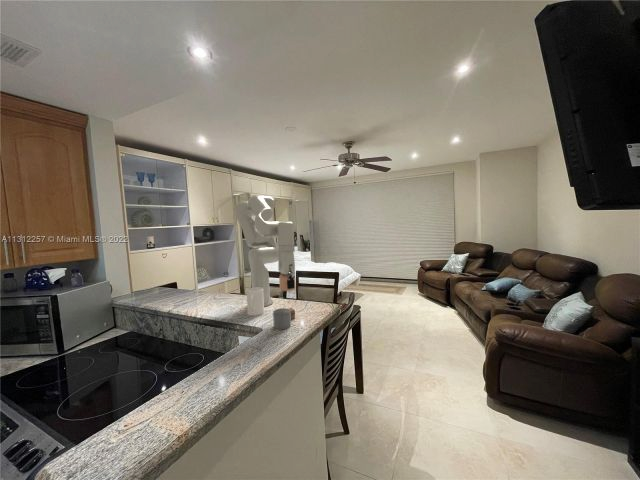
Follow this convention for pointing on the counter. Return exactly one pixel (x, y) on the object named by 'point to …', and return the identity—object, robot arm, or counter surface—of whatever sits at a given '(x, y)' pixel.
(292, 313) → the letter cube
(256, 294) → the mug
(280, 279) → the cup terracotta
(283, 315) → the cup charcoal
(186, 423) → the counter surface
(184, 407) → the counter surface
